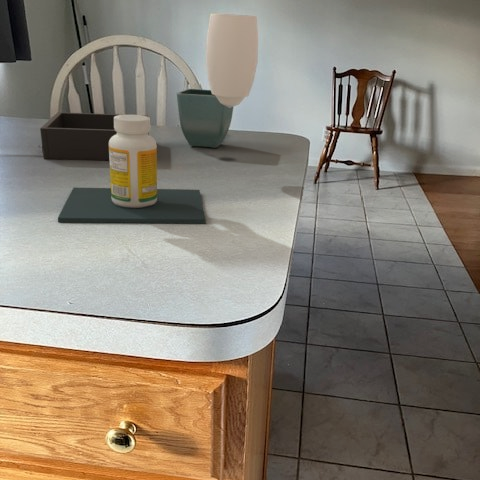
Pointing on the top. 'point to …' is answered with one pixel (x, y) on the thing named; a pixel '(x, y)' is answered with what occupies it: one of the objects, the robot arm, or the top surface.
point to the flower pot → (203, 117)
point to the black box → (78, 136)
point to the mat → (105, 211)
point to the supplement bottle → (133, 162)
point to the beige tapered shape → (231, 56)
